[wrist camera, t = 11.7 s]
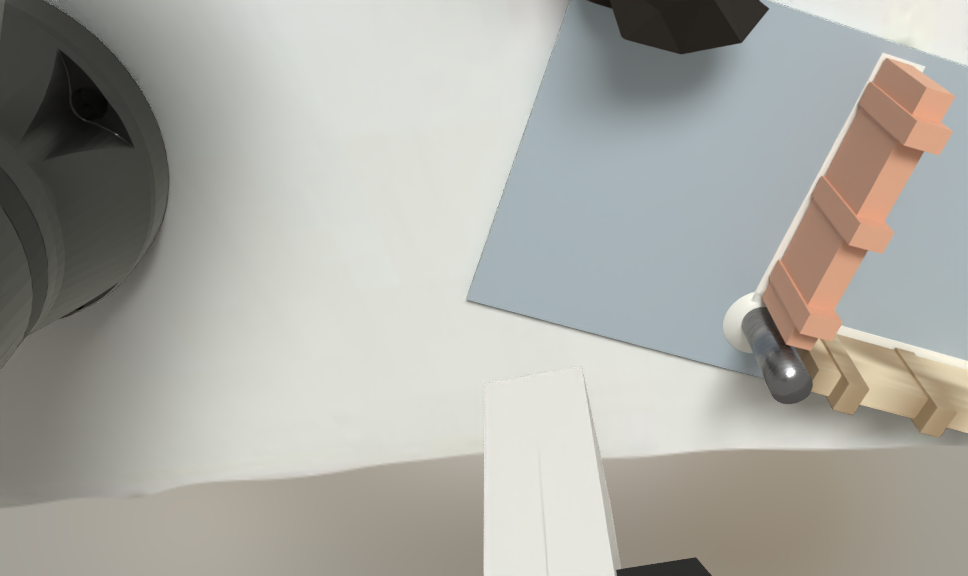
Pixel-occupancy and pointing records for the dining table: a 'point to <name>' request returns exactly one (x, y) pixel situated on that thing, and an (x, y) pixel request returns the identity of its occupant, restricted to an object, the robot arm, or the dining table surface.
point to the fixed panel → (889, 383)
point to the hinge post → (776, 358)
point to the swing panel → (856, 200)
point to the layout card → (717, 190)
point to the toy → (685, 22)
